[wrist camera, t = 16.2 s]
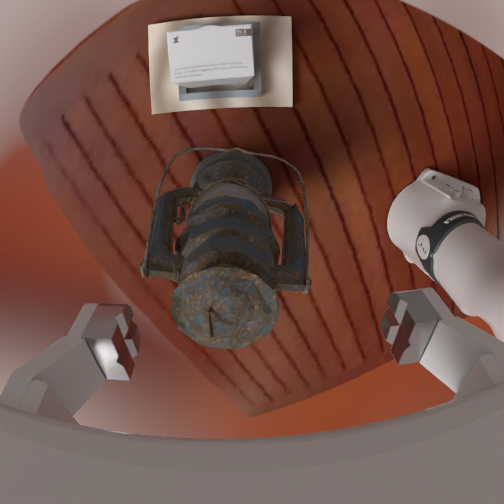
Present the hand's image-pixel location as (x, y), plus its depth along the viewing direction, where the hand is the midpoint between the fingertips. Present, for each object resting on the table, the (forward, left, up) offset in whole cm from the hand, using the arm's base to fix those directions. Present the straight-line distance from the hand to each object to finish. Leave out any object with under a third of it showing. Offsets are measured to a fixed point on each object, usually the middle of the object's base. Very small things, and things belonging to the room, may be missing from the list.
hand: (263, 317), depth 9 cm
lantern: (+2, +8, -39) cm, 40 cm away
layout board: (+3, -11, -39) cm, 41 cm away
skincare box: (+3, -10, -38) cm, 39 cm away
